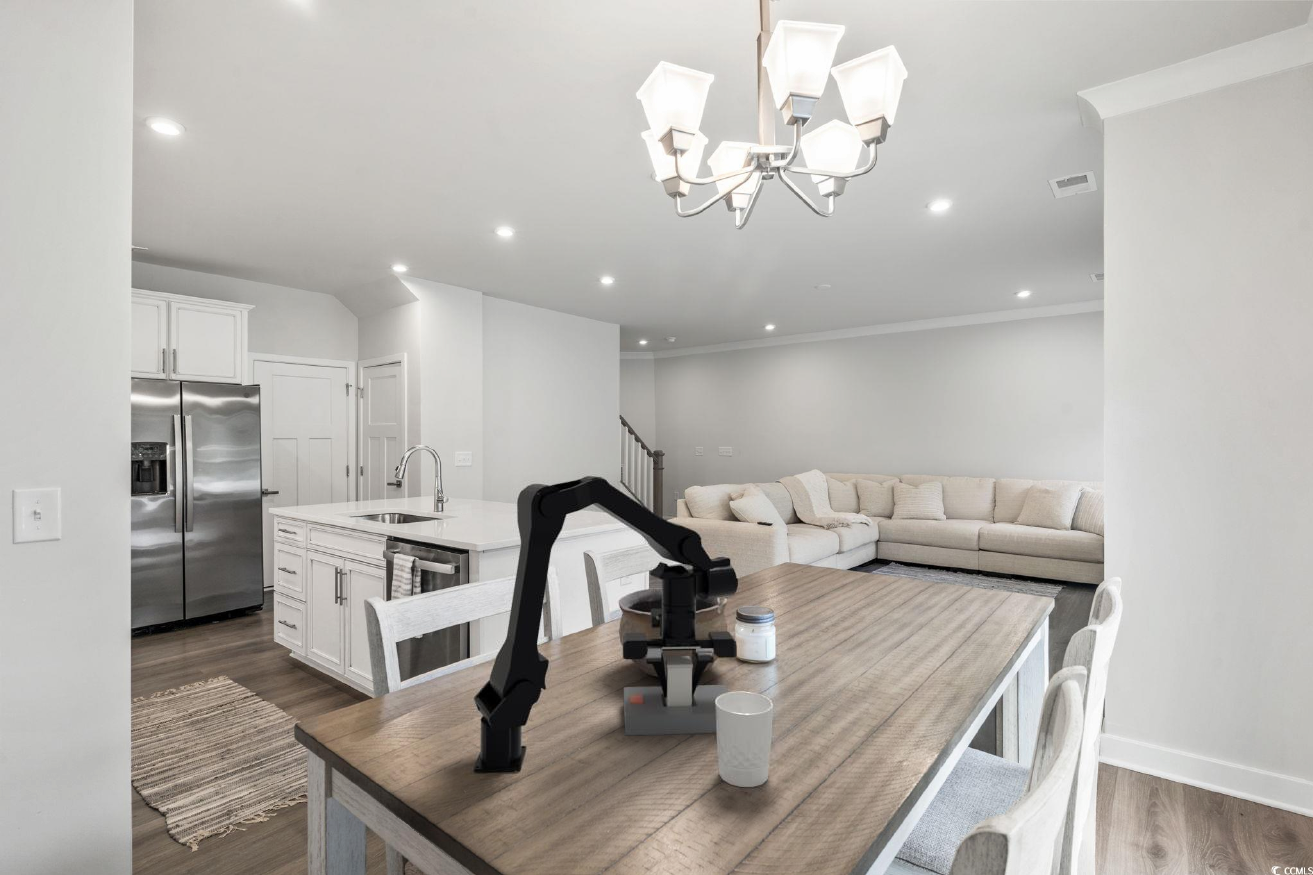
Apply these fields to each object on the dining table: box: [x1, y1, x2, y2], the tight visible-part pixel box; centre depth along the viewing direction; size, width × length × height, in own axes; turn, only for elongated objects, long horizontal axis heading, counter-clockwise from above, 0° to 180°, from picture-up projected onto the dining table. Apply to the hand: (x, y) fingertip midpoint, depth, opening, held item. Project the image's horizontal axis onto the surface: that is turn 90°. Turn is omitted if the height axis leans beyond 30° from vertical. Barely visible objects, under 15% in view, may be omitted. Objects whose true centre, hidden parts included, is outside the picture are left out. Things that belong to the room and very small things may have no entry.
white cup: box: [715, 691, 774, 788], centre depth 88 cm, size 8×8×10 cm
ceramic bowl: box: [618, 587, 728, 678], centre depth 128 cm, size 22×22×15 cm
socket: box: [623, 684, 730, 736], centre depth 106 cm, size 12×18×3 cm, turn 94°
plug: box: [665, 656, 693, 707], centre depth 107 cm, size 4×4×8 cm
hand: (678, 696), depth 107 cm, fingers closed on plug, 4 cm apart
